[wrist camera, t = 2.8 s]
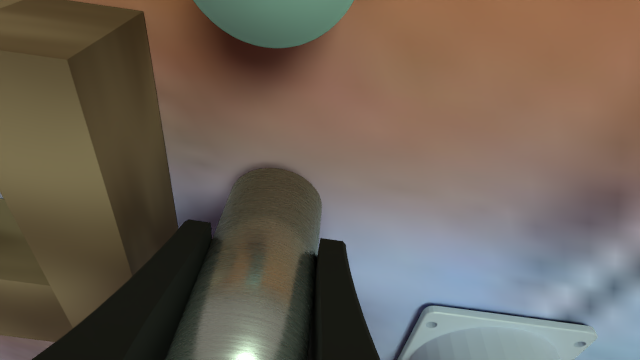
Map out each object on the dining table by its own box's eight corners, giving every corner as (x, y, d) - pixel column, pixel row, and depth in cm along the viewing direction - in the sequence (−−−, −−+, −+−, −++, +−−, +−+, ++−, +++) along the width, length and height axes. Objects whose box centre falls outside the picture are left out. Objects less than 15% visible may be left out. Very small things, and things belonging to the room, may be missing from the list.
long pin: (316, 242, 13) (291, 493, 8) (231, 231, 13) (146, 476, 8) (327, 175, 12) (304, 443, 6) (228, 161, 11) (114, 420, 6)
